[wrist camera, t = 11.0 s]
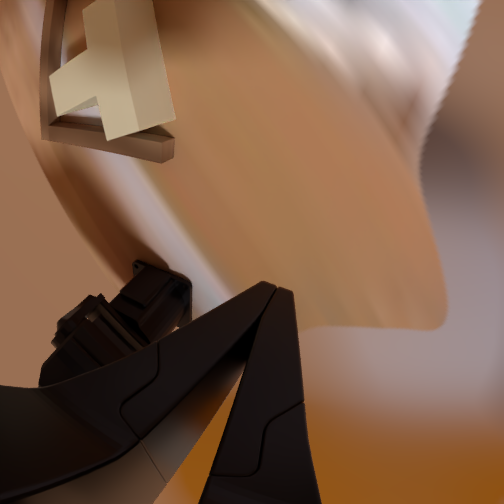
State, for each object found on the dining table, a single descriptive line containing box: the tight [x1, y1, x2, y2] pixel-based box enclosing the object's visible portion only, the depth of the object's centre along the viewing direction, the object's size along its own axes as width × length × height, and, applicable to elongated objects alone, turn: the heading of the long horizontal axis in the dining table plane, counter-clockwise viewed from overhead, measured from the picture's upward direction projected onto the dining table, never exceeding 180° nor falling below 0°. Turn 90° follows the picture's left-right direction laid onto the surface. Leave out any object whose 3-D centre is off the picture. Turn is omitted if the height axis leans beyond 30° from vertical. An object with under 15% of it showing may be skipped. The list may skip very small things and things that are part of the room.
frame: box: [40, 0, 175, 163], centre depth 17 cm, size 16×16×2 cm
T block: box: [49, 0, 176, 141], centre depth 17 cm, size 10×8×4 cm
